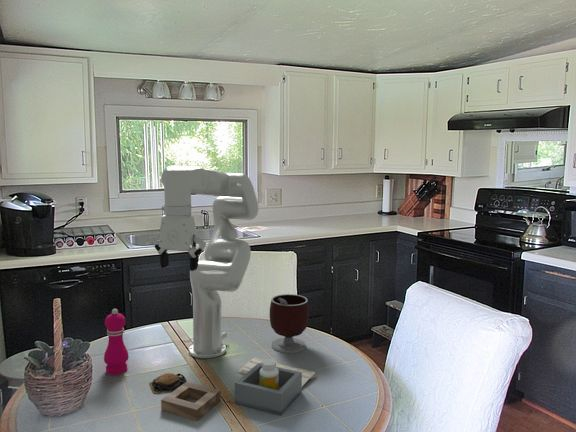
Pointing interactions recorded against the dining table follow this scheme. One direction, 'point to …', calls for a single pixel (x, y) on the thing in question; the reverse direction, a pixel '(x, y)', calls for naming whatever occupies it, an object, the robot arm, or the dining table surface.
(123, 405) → the dining table surface
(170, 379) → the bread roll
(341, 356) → the dining table surface
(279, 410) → the bin
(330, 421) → the dining table surface
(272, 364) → the supplement bottle
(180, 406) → the socket collar
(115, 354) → the pepper mill
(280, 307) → the mate gourd
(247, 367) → the newspaper
